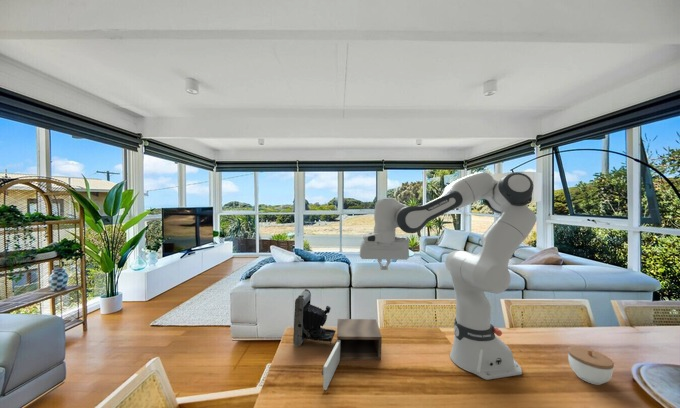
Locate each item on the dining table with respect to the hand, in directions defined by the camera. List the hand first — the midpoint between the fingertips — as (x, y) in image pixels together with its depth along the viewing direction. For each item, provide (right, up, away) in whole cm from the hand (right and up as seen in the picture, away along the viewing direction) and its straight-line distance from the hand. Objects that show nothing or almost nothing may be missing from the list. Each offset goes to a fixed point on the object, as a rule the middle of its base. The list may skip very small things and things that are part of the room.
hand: (383, 269), depth 103 cm
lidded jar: (+65, -31, -21) cm, 75 cm away
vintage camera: (-28, -29, -3) cm, 41 cm away
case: (-11, -29, -7) cm, 32 cm away
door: (-21, -29, -21) cm, 42 cm away
